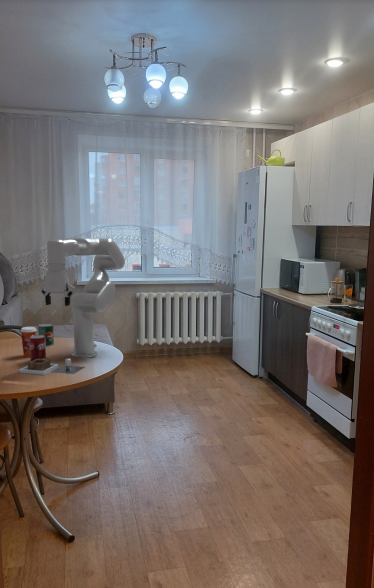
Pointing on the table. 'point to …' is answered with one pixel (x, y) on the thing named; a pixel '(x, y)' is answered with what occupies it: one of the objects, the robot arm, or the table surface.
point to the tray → (25, 370)
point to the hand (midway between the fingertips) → (57, 305)
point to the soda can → (37, 347)
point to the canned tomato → (47, 333)
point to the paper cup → (27, 339)
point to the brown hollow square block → (39, 364)
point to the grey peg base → (68, 368)
